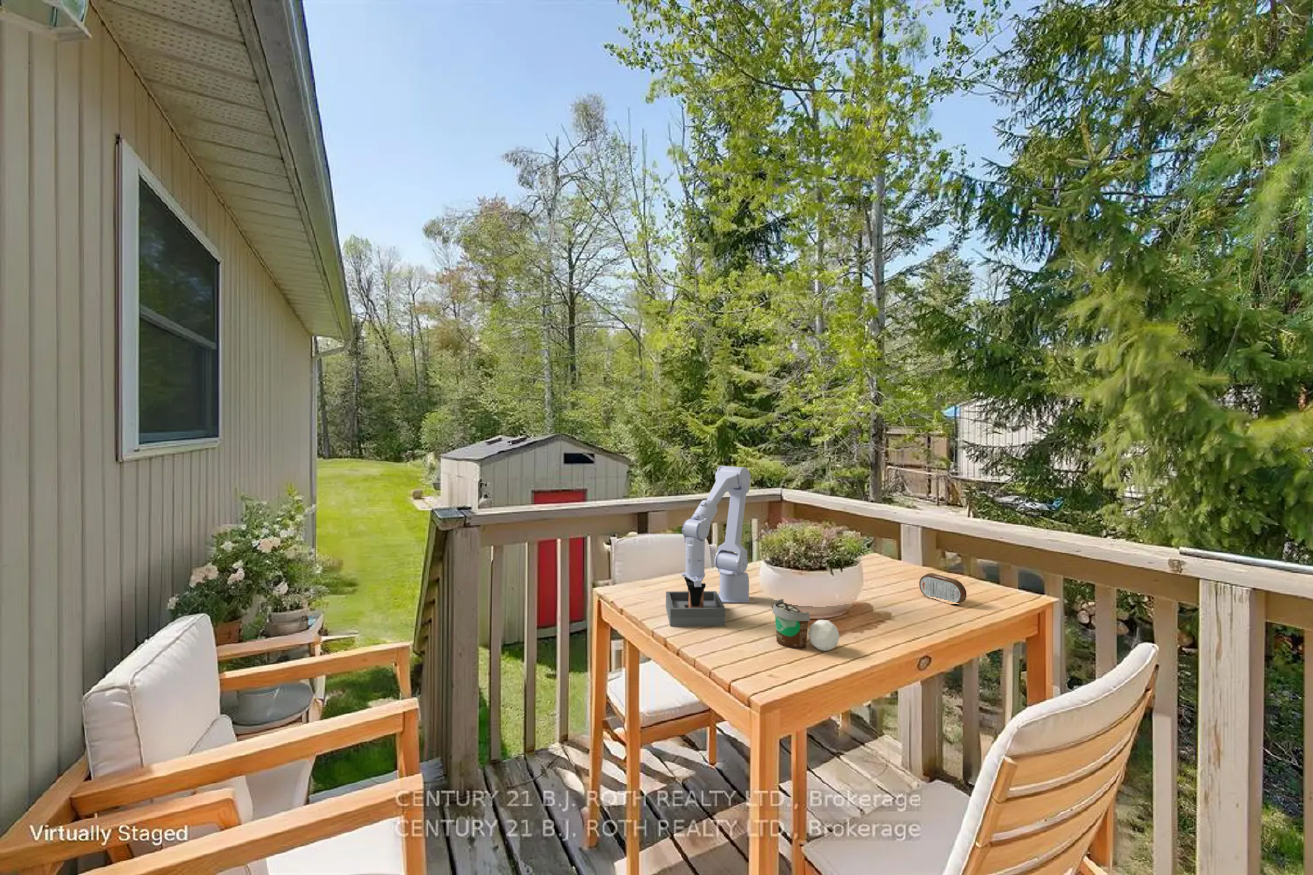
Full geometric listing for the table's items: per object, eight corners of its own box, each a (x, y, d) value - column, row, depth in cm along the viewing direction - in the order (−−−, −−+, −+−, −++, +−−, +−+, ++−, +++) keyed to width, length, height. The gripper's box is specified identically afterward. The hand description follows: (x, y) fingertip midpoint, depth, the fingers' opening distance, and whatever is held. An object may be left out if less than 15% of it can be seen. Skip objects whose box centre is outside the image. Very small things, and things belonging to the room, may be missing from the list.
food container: (762, 636, 159) (763, 600, 158) (781, 633, 161) (782, 598, 160) (789, 654, 147) (790, 615, 147) (809, 650, 150) (810, 612, 149)
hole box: (715, 606, 182) (716, 591, 182) (725, 625, 166) (725, 608, 166) (665, 607, 181) (666, 591, 181) (670, 626, 165) (670, 609, 165)
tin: (966, 607, 185) (967, 581, 184) (961, 608, 183) (962, 582, 182) (922, 594, 197) (923, 570, 197) (917, 595, 195) (918, 571, 195)
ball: (818, 655, 153) (817, 625, 157) (846, 653, 148) (843, 622, 152) (803, 648, 149) (802, 617, 153) (831, 645, 144) (829, 613, 148)
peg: (701, 609, 176) (702, 583, 175) (703, 614, 172) (704, 587, 171) (688, 609, 175) (689, 583, 175) (689, 614, 171) (690, 587, 171)
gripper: (679, 552, 180) (678, 595, 180) (684, 565, 165) (683, 611, 166) (701, 552, 180) (701, 595, 181) (708, 565, 166) (708, 611, 166)
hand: (694, 603), depth 173 cm, fingers closed on peg, 4 cm apart
